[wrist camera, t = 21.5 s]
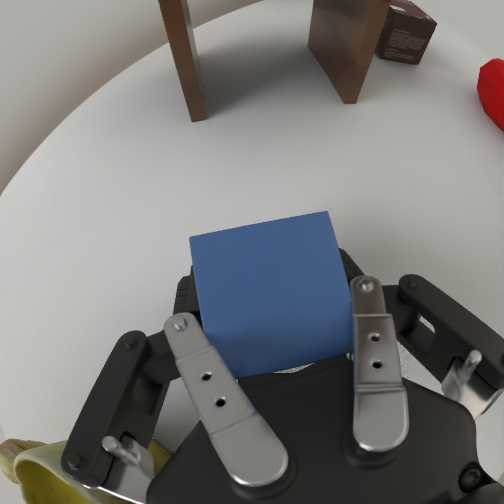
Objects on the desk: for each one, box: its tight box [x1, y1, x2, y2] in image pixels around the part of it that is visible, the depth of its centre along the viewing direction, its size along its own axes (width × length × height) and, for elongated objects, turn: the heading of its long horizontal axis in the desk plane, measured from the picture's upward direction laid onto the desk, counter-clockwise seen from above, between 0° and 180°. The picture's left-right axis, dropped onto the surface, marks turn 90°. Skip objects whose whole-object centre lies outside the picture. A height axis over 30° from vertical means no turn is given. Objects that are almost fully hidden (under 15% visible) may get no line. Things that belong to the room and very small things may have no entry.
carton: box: [189, 211, 352, 379], centre depth 12 cm, size 5×5×7 cm
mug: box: [0, 439, 171, 504], centre depth 9 cm, size 12×10×10 cm
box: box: [375, 0, 437, 65], centre depth 20 cm, size 6×6×7 cm
